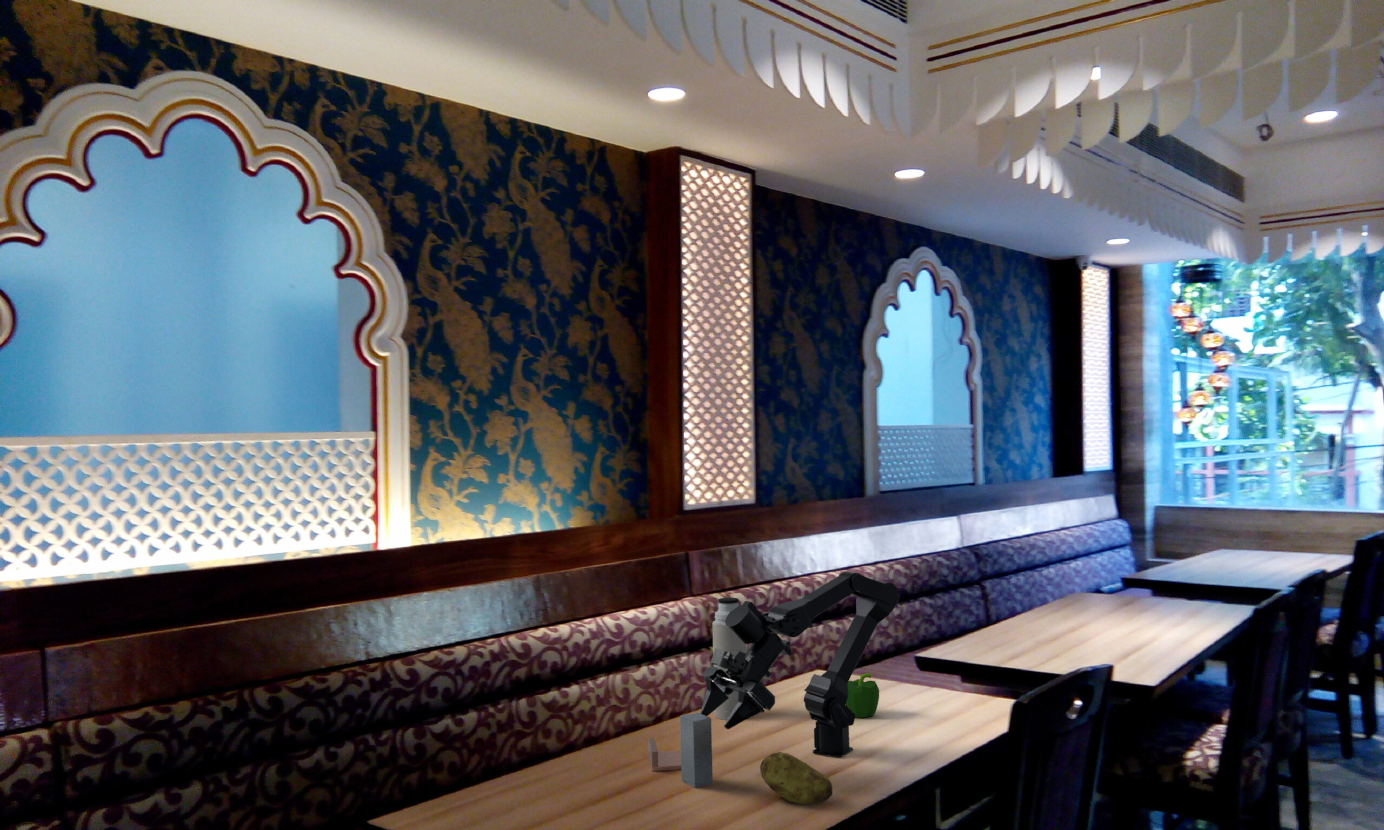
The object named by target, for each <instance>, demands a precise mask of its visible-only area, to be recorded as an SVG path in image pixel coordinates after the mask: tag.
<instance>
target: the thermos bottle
mask: <svg viewBox="0 0 1384 830" xmlns="http://www.w3.org/2000/svg"><path fill="white" fill-rule="evenodd" d="M717 601H718V609H717V611H715V613H714V619H715V620H713V622H712V624H711V625H712V653H713V654H714V651H715V648H716V649H720V650H723V651H726V652H729V653H731V654H732V653H733V652H734V650H738V651H741V652H743V653H746V651H747V644H744V643H743V642H742V641H741V640H740V639H739V638H738V637H737V636H736V635H735V634H734V633H733V632H732V631H731V630H730V629H729V628H728V627H727V626H726V624H725V620H726V617H727V615H728V614H729V613H730V611H733V610H734V609H735V608H736V607H738V606H740V604H739V602H740V599H739V598H738V597H720V598H718V599H717ZM713 654H712V655H713ZM713 667H716V668H719V669H722V670H723V671H724V670H725V668H722V667H720V666H718V665H713ZM724 672H725V671H724ZM725 673H726V672H725ZM726 674H727V673H726ZM727 675H728V674H727ZM728 676H729V675H728ZM729 677H730V676H729ZM735 686H736V685H735ZM738 694H739V692H737V691H735V690H734V691H733V692H732V693H731V694H729V695H727V696H728V697H729V698H728V699H727V700H726V701H725V702H724V703H723V704H721V705H720V706H719V707H718V708H717V709H715V710H714V717H715V718H717V719H719V720H725V721H727V719H728V717H729V715H730V714H731V712H732V710H733V709H734V707H735V705H736V704H737V702H738Z"/></svg>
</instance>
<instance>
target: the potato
mask: <svg viewBox="0 0 1384 830" xmlns="http://www.w3.org/2000/svg"><path fill="white" fill-rule="evenodd" d="M759 766H760V767H759V770H760V771H759V772H760V776H761V778H762V779H763V781H764V783H765V785H767V786H768V787H769V788H770V790H772V792H775V793H776V794H779V795H780V796H781V797H782V798H783V799H785V800H786V801H788V802H791V803H792V804H796V805H797V804H799V805H815V804H822V803H824V802H826V801H827V800H828V799H830V798H831V797H832V795H833V786H832V784H833V783H832V781H831V780H830V779H829V778H828V777H827V776H826V775H824V774H823V773H822V772H821V771H818V770H817V769H815V768H813V767H812V766H810V765H809V764H807V763H806V762H805V761H803V760H800V759H799V758H798V757H796V756H794V755H793V754H790V753H787V752H781V751H778V752H774V753H773V752H772V753H771V754H769V755H767V756H766V757H764V758H763V759H762V761H761V762H760V765H759Z"/></svg>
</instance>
